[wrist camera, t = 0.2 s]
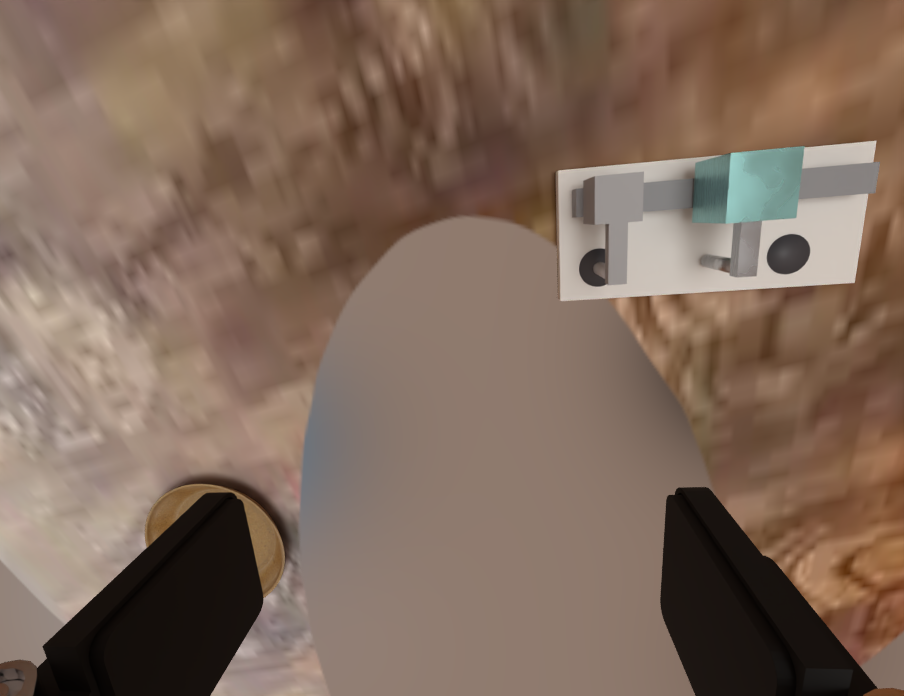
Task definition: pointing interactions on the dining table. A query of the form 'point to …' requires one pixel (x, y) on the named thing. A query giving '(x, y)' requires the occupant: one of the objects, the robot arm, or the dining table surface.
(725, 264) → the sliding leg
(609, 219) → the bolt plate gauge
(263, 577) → the plant saucer
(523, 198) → the dining table surface
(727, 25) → the dining table surface
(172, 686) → the robot arm
